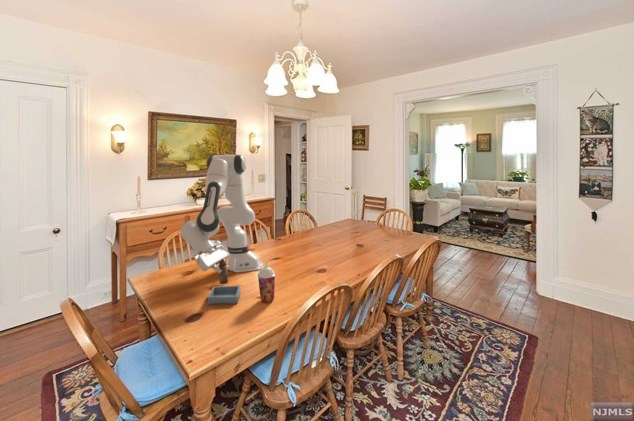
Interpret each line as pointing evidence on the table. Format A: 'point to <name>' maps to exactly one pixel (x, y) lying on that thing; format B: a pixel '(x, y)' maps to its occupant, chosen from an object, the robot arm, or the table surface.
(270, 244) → the table surface
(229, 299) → the serving tray
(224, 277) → the pepper mill
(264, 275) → the smoothie
